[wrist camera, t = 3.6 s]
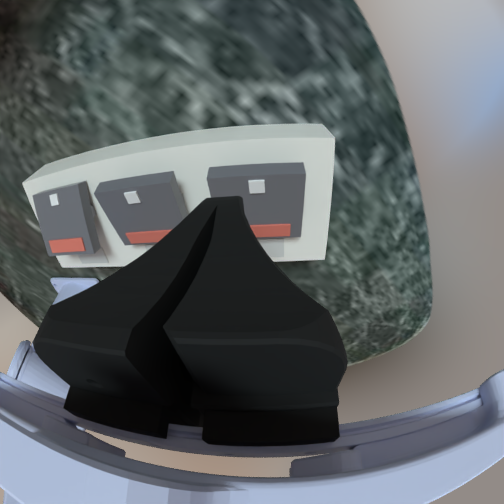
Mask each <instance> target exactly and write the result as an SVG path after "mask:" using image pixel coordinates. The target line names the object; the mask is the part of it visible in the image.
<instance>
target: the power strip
mask: <svg viewBox="0 0 504 504" xmlns="http://www.w3.org/2000/svg"><path fill="white" fill-rule="evenodd" d="M334 150H335V137H334V136H333V135H332V134H331V133H330V132H329V131H328V130H327V128H326V127H325V126H324V125H323V124H267V125H249V126H235V127H223V128H213V129H204V130H196V131H188V132H181V133H174V134H168V135H162V136H156V137H151V138H145V139H140V140H135V141H130V142H126V143H121V144H117V145H112V146H108V147H104V148H100V149H96V150H92V151H88V152H85V153H81V154H78V155H74V156H71V157H67V158H64V159H61V160H58V161H55V162H52V163H49V164H46V165H44V166H43V167H42V168H40V169H39V170H38V171H36V172H35V173H34V174H33V175H31V176H30V177H29V178H28V179H26V180H25V181H24V182H23V183H22V184H23V186H24V189H25V191H26V194H27V196H28V199H29V201H30V204H31V206H32V208H33V210H34V213H35V215H36V217H37V213H36V209H35V205H34V200H33V196H32V195H34V194H37V193H39V192H41V191H45V190H49V189H53V188H57V187H61V186H65V185H69V184H73V183H78V182H82V181H86V184H87V190H88V195H89V200H90V205H91V209H92V214H93V218H94V222H95V227H96V231H97V235H98V238H99V242H100V246H101V248H100V249H99V250H98V251H97V252H96V253H95V254H80V255H60V256H56V257H57V259H58V261H59V262H60V264H61V266H62V268H64V267H117V266H126V265H128V264H129V263H131V262H132V261H134V260H135V259H137V258H138V257H139V256H141V255H142V254H143V253H145V252H146V251H147V250H149V249H150V248H151V247H153V246H154V245H155V244H142V245H124V243H123V242H122V240H121V238H120V237H119V235H118V234H117V232H116V230H115V229H114V227H113V226H112V224H111V222H110V221H109V219H108V217H107V216H106V214H105V212H104V211H103V209H102V207H101V206H100V204H99V202H98V200H97V199H96V197H95V195H94V192H95V190H96V188H97V186H98V185H99V183H100V182H105V181H110V180H116V179H122V178H128V177H134V176H141V175H147V174H154V173H162V172H169V171H174V174H175V177H176V180H177V183H178V186H179V189H180V192H181V195H182V198H183V201H184V204H185V207H186V210H187V213H188V214H189V213H191V212H192V211H193V210H194V209H195V208H196V207H197V206H198V205H199V204H200V203H201V202H202V201H203V200H204V199H206V198H211V195H210V191H209V187H208V183H207V174H208V169H209V167H217V166H230V165H245V164H263V163H293V162H304V167H305V171H306V182H305V196H304V208H303V220H302V231H301V237H293V238H267V239H257V240H258V241H259V243H260V244H261V246H262V247H263V249H264V250H265V251H266V253H267V254H268V256H269V257H270V258H271V259H272V260H273V262H278V261H303V260H325V253H326V244H327V236H328V227H329V217H330V206H331V195H332V182H333V167H334ZM37 219H38V217H37Z"/></svg>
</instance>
